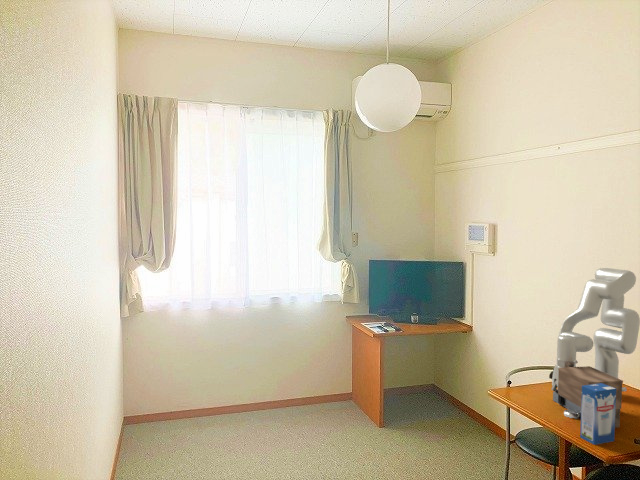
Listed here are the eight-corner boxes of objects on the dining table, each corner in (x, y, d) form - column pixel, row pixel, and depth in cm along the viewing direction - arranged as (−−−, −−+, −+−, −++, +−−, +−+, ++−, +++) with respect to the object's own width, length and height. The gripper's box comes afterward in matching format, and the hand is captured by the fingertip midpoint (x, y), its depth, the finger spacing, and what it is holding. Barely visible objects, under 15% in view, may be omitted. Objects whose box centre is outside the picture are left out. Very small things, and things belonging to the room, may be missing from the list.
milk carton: (600, 433, 186) (601, 383, 185) (614, 441, 180) (616, 388, 179) (580, 437, 183) (581, 385, 182) (594, 444, 177) (595, 391, 176)
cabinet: (588, 409, 210) (589, 366, 209) (621, 427, 192) (622, 380, 191) (556, 411, 207) (558, 367, 207) (587, 429, 189) (589, 382, 188)
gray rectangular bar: (558, 399, 220) (559, 391, 220) (590, 418, 200) (590, 408, 200) (552, 400, 220) (553, 391, 219) (583, 418, 200) (584, 409, 200)
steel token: (573, 412, 206) (573, 409, 206) (583, 418, 200) (583, 414, 200) (560, 413, 205) (560, 410, 205) (570, 419, 199) (570, 415, 199)
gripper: (576, 360, 218) (575, 400, 219) (544, 361, 215) (542, 402, 216) (588, 365, 211) (587, 406, 211) (555, 366, 208) (553, 408, 209)
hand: (564, 403), depth 214 cm, fingers closed on gray rectangular bar, 2 cm apart
